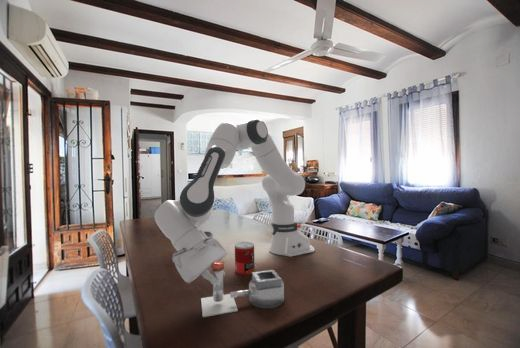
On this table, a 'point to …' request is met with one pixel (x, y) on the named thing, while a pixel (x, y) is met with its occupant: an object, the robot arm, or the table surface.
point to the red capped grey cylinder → (218, 286)
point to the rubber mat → (218, 306)
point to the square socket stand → (264, 290)
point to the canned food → (244, 258)
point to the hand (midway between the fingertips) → (219, 279)
